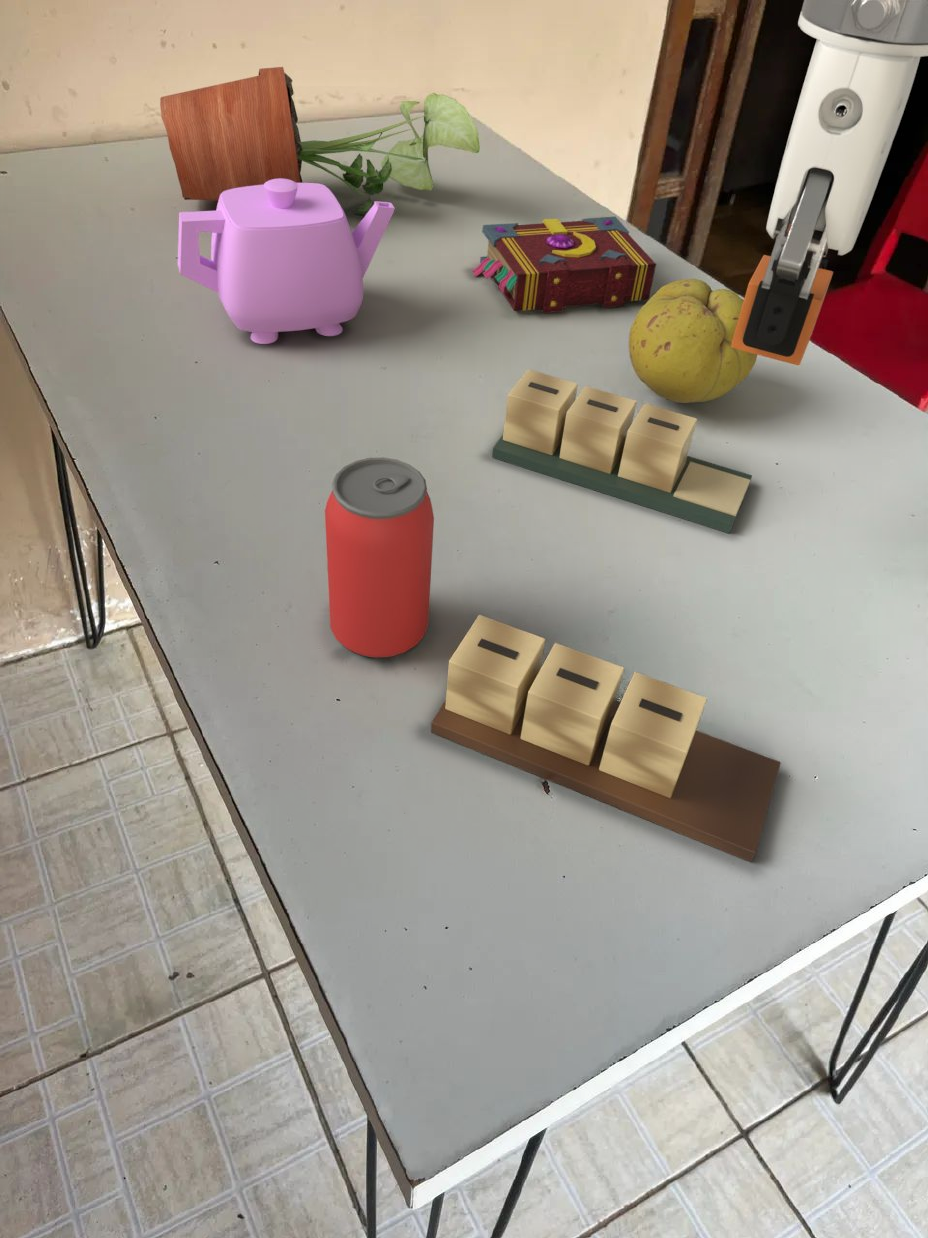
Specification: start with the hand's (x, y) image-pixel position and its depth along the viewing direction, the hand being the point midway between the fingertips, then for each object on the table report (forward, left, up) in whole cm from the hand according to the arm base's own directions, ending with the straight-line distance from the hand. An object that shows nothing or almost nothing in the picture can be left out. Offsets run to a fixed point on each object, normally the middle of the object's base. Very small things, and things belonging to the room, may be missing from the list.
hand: (776, 328), depth 62 cm
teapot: (+45, -13, -18) cm, 50 cm away
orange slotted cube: (0, 0, -1) cm, 1 cm away
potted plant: (+55, -38, -18) cm, 69 cm away
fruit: (+8, -19, -18) cm, 27 cm away
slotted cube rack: (+9, -5, -18) cm, 20 cm away
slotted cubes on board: (+1, +23, -18) cm, 29 cm away
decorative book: (+25, -33, -18) cm, 45 cm away
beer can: (+18, +20, -18) cm, 32 cm away
